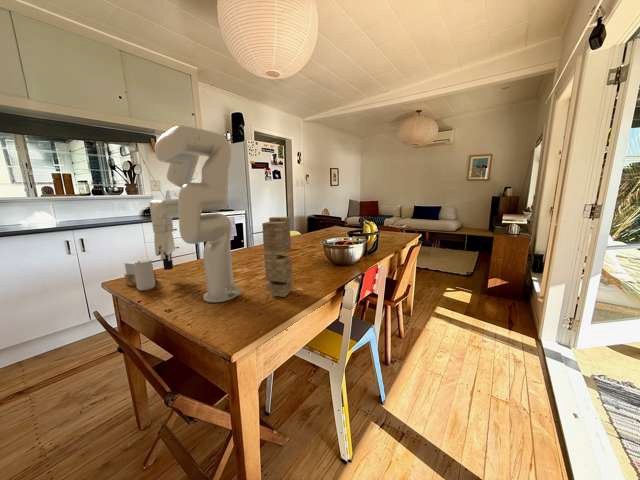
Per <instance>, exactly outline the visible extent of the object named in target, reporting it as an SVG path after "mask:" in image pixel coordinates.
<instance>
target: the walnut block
mask: <svg viewBox="0 0 640 480" xmlns="http://www.w3.org/2000/svg"><path fill="white" fill-rule="evenodd" d="M153 272H154V279H155V282H156V281H157V277H156V276H157V275H156V270H155V269H153ZM124 280H125V281H124V282H125V285H126V286H132V287H137V285H136V278H135V275H129V274H126V273H124Z"/></svg>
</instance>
